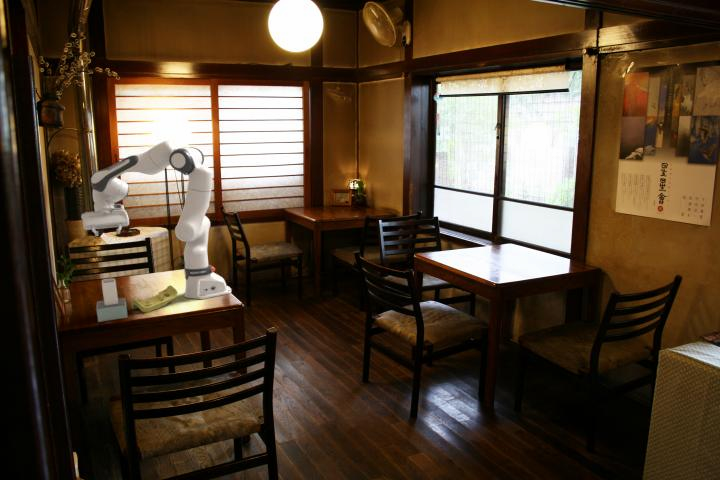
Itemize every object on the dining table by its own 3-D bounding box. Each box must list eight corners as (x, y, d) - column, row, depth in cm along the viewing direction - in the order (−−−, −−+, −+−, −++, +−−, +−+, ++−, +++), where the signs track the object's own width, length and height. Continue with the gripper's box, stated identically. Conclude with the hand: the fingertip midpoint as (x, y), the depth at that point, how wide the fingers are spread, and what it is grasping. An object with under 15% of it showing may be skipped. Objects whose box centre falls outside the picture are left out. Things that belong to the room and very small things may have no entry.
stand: (126, 309, 273) (125, 297, 272) (127, 317, 263) (126, 304, 261) (98, 314, 269) (96, 301, 268) (98, 321, 258) (96, 308, 257)
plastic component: (145, 308, 266) (131, 296, 271) (143, 321, 270) (130, 309, 274) (181, 294, 281) (168, 283, 286) (179, 306, 285) (166, 295, 289)
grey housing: (117, 300, 268) (114, 277, 266) (118, 303, 263) (115, 280, 261) (104, 302, 266) (101, 279, 264) (104, 305, 261) (101, 282, 259)
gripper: (80, 208, 279) (82, 232, 272) (126, 204, 287) (130, 227, 280) (81, 216, 284) (84, 240, 277) (127, 212, 292) (130, 235, 285)
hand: (107, 234), depth 279 cm, fingers open, 8 cm apart
